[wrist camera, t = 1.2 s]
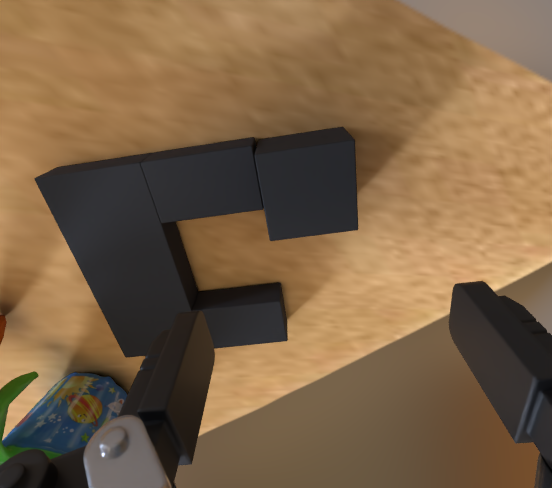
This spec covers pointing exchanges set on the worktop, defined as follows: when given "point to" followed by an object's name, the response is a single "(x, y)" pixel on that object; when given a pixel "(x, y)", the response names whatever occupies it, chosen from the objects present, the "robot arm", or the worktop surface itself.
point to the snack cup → (60, 414)
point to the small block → (308, 183)
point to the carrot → (2, 327)
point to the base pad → (161, 240)
